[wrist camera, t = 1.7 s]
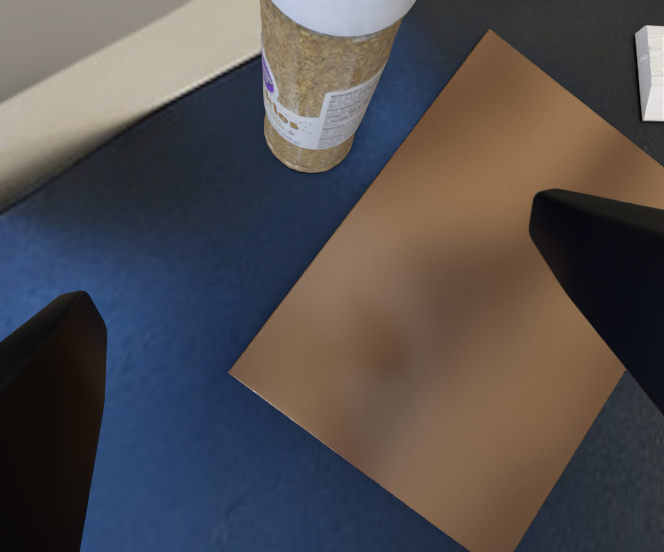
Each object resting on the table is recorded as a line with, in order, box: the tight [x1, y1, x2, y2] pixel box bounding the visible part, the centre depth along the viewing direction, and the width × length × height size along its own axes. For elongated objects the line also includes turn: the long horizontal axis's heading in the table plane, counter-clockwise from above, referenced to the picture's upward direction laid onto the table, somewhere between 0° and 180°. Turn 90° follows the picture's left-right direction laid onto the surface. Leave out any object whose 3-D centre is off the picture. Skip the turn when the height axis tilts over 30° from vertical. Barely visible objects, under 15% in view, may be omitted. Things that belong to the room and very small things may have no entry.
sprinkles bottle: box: [260, 0, 416, 173], centre depth 17 cm, size 5×5×14 cm
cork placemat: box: [228, 29, 664, 552], centre depth 23 cm, size 16×22×1 cm
